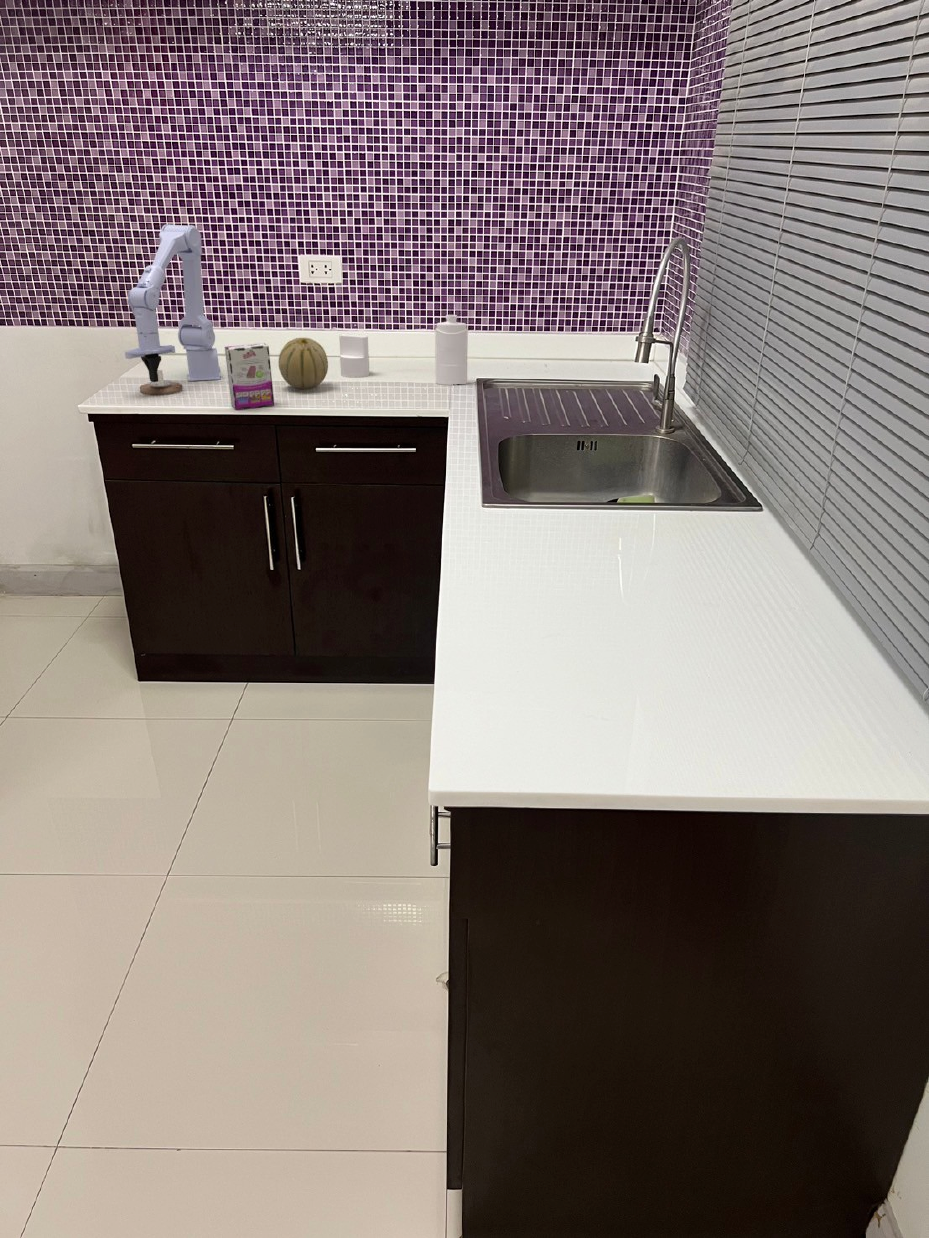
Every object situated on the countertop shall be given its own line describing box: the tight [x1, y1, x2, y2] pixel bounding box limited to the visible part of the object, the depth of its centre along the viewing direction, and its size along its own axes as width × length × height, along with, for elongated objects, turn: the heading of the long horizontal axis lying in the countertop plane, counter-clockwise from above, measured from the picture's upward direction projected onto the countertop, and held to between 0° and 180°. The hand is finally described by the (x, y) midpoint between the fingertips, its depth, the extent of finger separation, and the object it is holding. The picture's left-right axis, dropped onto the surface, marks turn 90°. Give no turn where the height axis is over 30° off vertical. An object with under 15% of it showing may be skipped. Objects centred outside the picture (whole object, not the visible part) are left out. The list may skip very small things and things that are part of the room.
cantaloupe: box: [278, 337, 329, 390], centre depth 274 cm, size 15×15×15 cm
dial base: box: [139, 381, 184, 396], centre depth 273 cm, size 12×12×1 cm
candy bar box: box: [224, 342, 275, 411], centre depth 254 cm, size 11×5×16 cm, turn 117°
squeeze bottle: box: [434, 314, 469, 386], centre depth 280 cm, size 10×20×5 cm
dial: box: [149, 369, 172, 388], centre depth 271 cm, size 8×6×4 cm
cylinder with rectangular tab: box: [339, 333, 371, 379], centre depth 292 cm, size 9×9×12 cm
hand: (154, 381), depth 267 cm, fingers closed, pressing on dial
